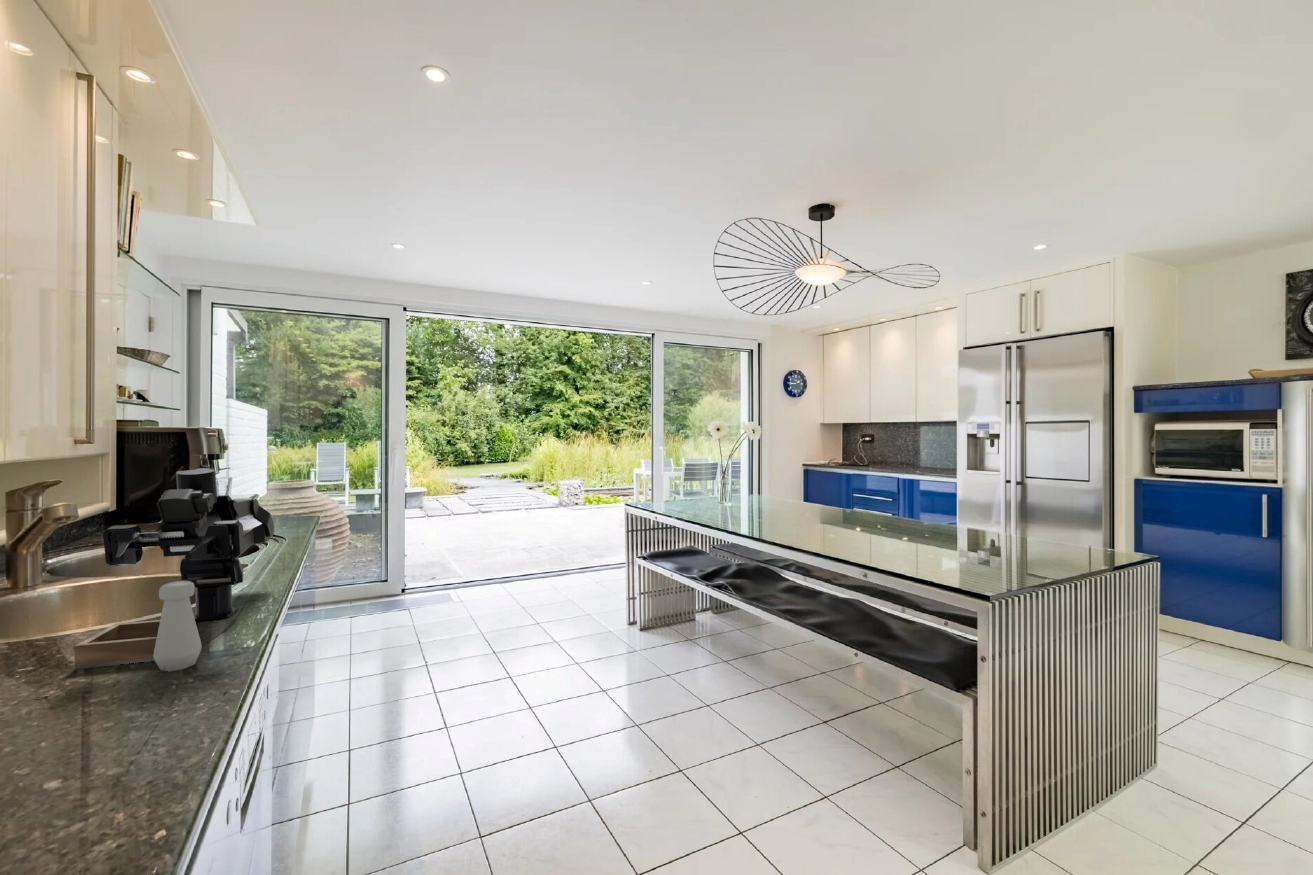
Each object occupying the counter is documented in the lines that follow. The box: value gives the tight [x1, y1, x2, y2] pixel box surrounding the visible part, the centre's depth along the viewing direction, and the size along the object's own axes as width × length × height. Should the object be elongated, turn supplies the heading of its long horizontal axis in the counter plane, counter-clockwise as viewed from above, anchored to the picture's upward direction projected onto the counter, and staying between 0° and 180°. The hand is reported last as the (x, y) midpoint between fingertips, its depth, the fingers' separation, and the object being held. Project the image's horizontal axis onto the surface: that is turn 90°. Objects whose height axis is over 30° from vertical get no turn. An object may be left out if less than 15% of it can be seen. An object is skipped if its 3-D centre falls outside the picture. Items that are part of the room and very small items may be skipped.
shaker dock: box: [74, 619, 160, 670], centre depth 96 cm, size 11×11×4 cm
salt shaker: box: [153, 580, 203, 673], centre depth 91 cm, size 6×6×13 cm
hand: (154, 558), depth 92 cm, fingers open, 9 cm apart
